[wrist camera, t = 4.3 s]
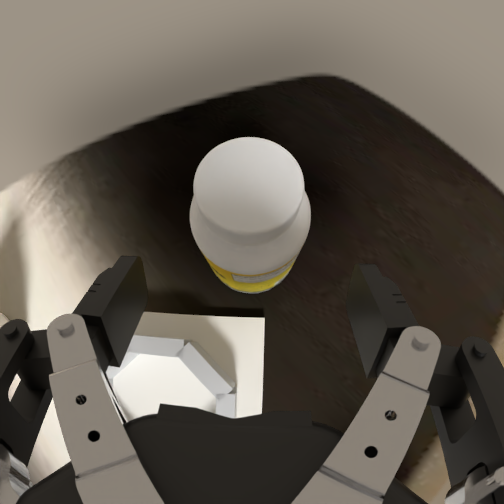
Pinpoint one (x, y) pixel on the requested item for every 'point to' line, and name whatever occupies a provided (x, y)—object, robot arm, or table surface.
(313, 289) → the table surface
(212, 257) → the supplement bottle
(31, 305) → the table surface
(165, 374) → the barrel socket
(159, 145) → the table surface
